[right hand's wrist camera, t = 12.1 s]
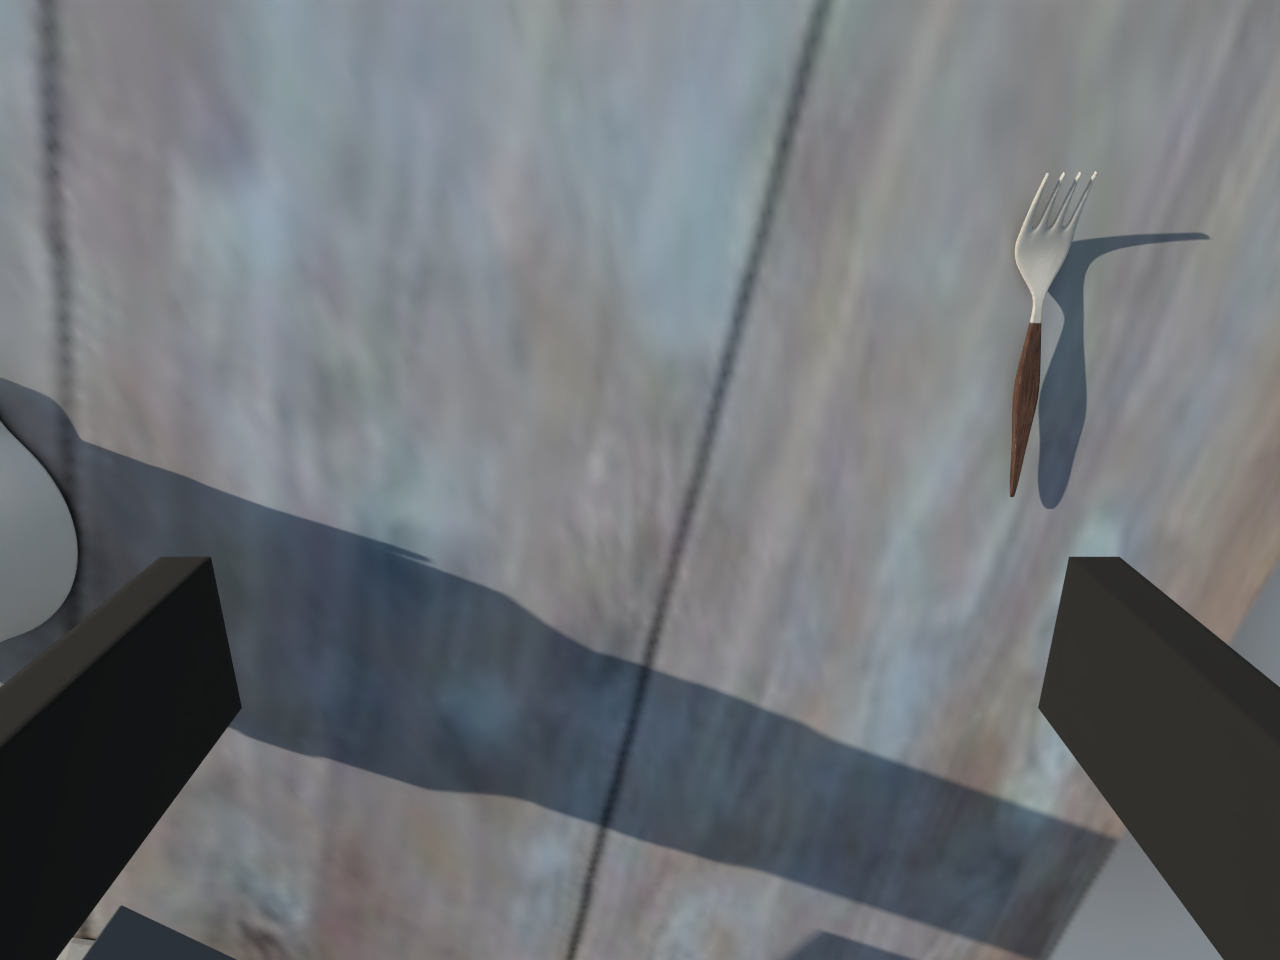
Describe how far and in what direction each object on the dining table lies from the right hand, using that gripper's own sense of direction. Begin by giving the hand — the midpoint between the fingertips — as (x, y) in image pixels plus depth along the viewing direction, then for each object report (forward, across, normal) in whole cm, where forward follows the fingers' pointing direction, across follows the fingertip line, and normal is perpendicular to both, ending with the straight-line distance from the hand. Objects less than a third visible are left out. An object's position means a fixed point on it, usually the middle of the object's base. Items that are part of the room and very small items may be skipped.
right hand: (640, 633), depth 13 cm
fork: (+30, +19, -1) cm, 35 cm away
